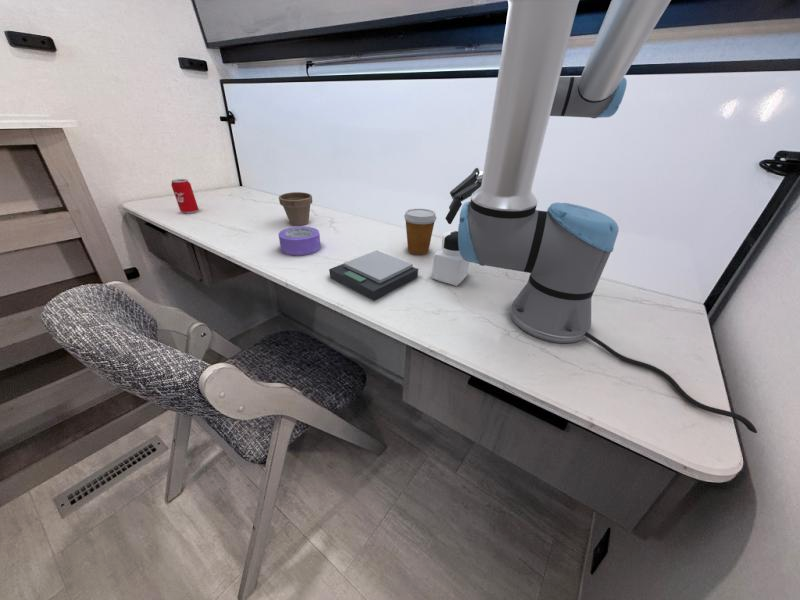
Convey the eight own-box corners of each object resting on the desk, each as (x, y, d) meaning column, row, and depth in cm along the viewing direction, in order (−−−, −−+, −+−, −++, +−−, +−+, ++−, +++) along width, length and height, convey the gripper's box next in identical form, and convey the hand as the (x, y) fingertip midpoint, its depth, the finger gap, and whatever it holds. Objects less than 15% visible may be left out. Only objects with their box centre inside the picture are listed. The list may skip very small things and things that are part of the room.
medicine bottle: (467, 276, 81) (474, 232, 75) (456, 286, 76) (463, 241, 70) (443, 269, 84) (448, 226, 78) (431, 278, 79) (435, 234, 73)
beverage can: (183, 210, 124) (172, 178, 117) (200, 209, 125) (190, 178, 119) (179, 214, 119) (167, 182, 112) (197, 213, 120) (186, 181, 114)
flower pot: (307, 229, 108) (303, 200, 103) (277, 227, 110) (272, 198, 104) (319, 220, 118) (316, 193, 113) (292, 217, 119) (288, 191, 114)
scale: (417, 277, 79) (418, 265, 78) (373, 300, 69) (373, 287, 67) (374, 259, 88) (374, 248, 86) (329, 277, 78) (328, 265, 76)
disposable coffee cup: (431, 258, 90) (435, 218, 83) (400, 255, 91) (401, 215, 85) (434, 247, 98) (438, 209, 91) (405, 244, 99) (407, 206, 93)
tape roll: (327, 243, 97) (326, 228, 95) (308, 258, 88) (306, 241, 85) (294, 239, 100) (292, 224, 97) (273, 252, 90) (269, 236, 88)
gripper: (557, 175, 76) (518, 247, 74) (470, 163, 90) (435, 224, 88) (556, 153, 70) (514, 231, 68) (463, 144, 84) (426, 209, 82)
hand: (469, 227), depth 78 cm, fingers open, 13 cm apart
